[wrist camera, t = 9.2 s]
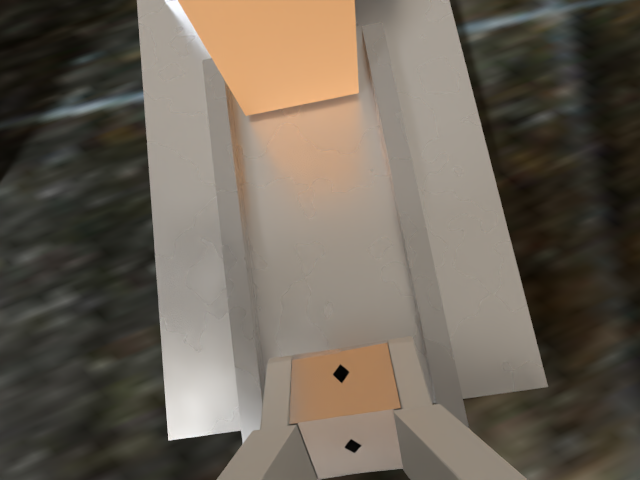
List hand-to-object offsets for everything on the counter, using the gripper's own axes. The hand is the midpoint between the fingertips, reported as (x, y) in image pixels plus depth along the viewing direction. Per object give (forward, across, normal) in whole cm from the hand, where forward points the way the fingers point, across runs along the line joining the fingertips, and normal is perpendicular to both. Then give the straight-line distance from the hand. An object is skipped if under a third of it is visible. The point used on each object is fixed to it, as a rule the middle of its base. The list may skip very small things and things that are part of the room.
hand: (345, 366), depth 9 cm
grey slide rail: (+10, 0, -1) cm, 10 cm away
